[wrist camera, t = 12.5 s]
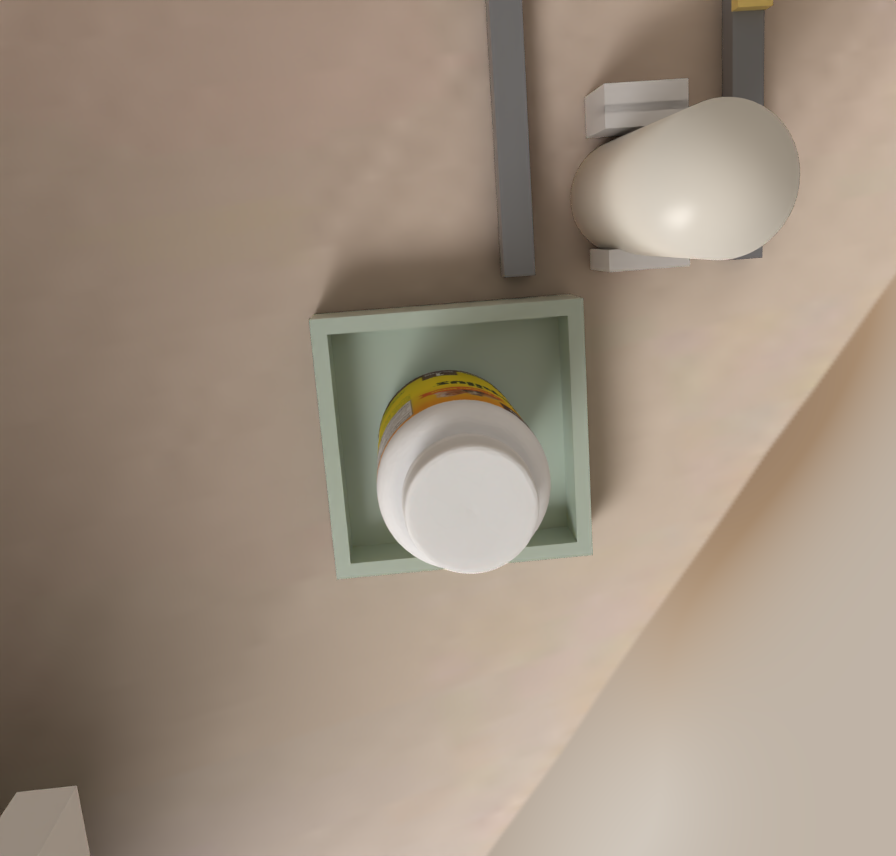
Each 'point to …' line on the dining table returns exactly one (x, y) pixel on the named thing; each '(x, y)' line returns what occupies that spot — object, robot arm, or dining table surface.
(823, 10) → the dining table surface
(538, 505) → the supplement bottle
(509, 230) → the twin cylinder holder
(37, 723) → the dining table surface
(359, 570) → the tray
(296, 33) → the dining table surface
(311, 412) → the dining table surface
